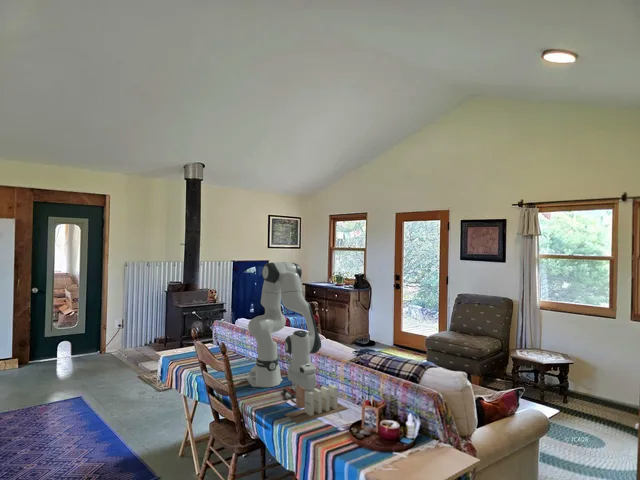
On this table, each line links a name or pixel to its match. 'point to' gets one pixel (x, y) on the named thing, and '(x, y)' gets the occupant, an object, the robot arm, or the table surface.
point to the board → (302, 416)
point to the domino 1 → (300, 396)
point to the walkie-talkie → (289, 393)
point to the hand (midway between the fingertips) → (301, 394)
